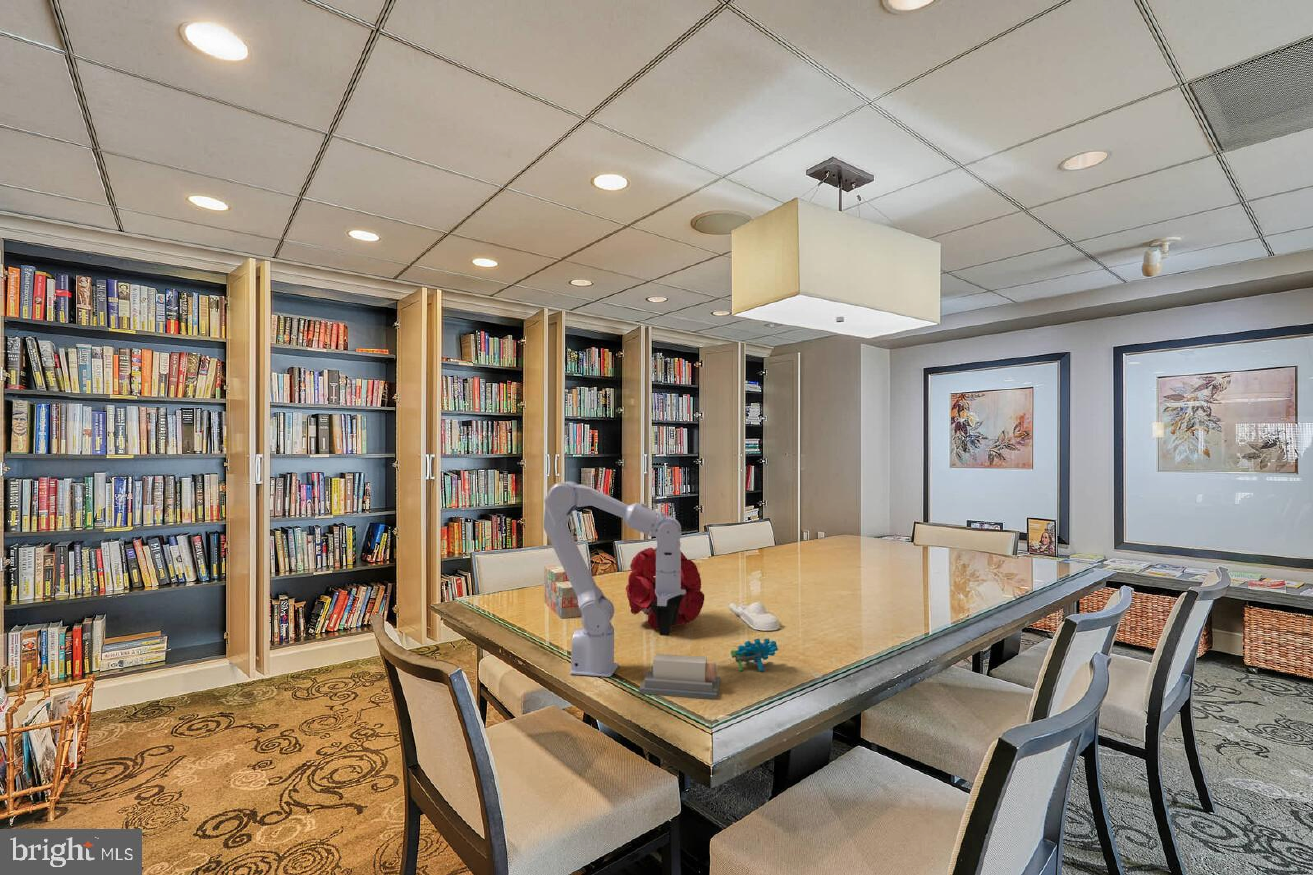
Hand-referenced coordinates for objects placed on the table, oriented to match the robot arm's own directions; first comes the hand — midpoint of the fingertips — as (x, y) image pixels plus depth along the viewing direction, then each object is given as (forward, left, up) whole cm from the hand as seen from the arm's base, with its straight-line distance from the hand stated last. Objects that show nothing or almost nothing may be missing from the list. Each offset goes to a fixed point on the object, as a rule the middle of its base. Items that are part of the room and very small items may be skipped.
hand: (667, 630), depth 135 cm
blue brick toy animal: (+19, +7, -10) cm, 23 cm away
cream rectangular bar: (+4, -8, -8) cm, 12 cm away
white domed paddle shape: (+19, +45, -10) cm, 50 cm away
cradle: (+4, -8, -9) cm, 13 cm away
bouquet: (-8, +37, -10) cm, 39 cm away
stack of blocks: (-42, +47, -10) cm, 64 cm away
